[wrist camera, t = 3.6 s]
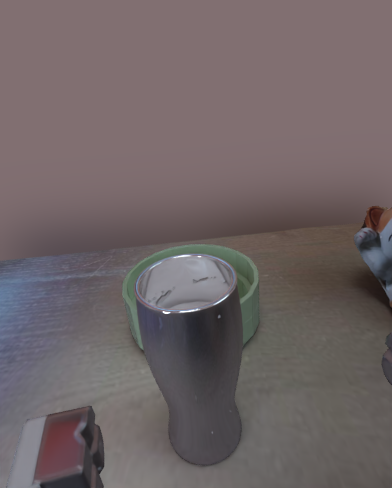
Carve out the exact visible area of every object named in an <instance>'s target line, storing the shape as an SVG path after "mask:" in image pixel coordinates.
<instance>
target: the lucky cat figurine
mask: <svg viewBox="0 0 392 488" xmlns="http://www.w3.org/2000/svg"><path fill="white" fill-rule="evenodd" d="M387 209H388V208H383V207H382V208H381V207H379V206H372V207H369V208H368V210H367V216H366V218H365V221H364V224H363V226H362V228H361V229H360V230H359V231H358V232H357V234H356V235H355V236H354V241H355V245H356V247H357V248H358V250H359V251H360V254H361V256H362V258H363V259H364V261H365V262H366V264H367V265H368V266H369V267H370V270H371V271H372V272H373V273H374V275H375V277H376V278H377V279H378V281H379V282H380V284H381V285H382V287H383V289H384V290H385V292H386V294H387V296H388V297H389V299H390V303H389V304H390V306H391V308H392V208H390V209H389V210H387Z"/></svg>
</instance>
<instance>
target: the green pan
mask: <svg viewBox="0 0 392 488" xmlns="http://www.w3.org/2000/svg"><path fill="white" fill-rule="evenodd" d="M181 254H206V255H212V256H215V257H218V258H221V259H223V260H225V261H226V262H228V263H229V264H230V265H231V266H232V267H233V268H234V269H235V271H236V274H237V284H238V291H239V297H240V304H241V311H242V322H243V345H244V344H245V343H246V342H247V341H248V340H249V339H250V338H251V337H252V336H253V335H254V333H255V331H256V328H257V326H258V323H259V277H258V269H257V267H256V266H255V265H254V263H253V262H252V260H251V259H250V258H248V257H247V256H245V255H244V254H242V253H241V252H239V251H237V250H233V249H230V248H227V247H224V246H218V245H210V244H192V245H183V246H178V247H172V248H169V249H166V250H163V251H160V252H157V253H154V254H152V255H150V256H149V257H147V258H145V259H143V260H142V261H140V262H138V263H137V264H136V265H135V266H134V267H133V268H132V269H131V270H130V271H129V272H128V274H127V275H126V277H125V279H124V281H123V283H122V292H123V299H124V304H125V308H126V312H127V316H128V320H129V324H130V329H131V333H132V336H133V337H134V339H135V341H136V342H137V344H138V346H139V347H140V348H141V349H143V345H142V341H141V335H140V330H139V323H138V316H137V306H136V298H135V294H134V284H135V281H136V279H137V277H138V276H139V274H140V273H141V272H142V271H143V270H144V269H146V268H147V267H148V266H150V265H151V264H153V263H155V262H157V261H159V260H162V259H165V258H168V257H171V256H175V255H181ZM143 350H144V349H143Z"/></svg>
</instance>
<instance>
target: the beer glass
mask: <svg viewBox="0 0 392 488" xmlns="http://www.w3.org/2000/svg"><path fill="white" fill-rule="evenodd" d="M134 294H135V298H136V306H137V316H138V323H139V330H140V335H141V341H142V345H143V349H144V352H145V356H146V360H147V362H148V365H149V367H150V370H151V372H152V375H153V377H154V379H155V381H156V383H157V385H158V387H159V389H160V391H161V393H162V395H163V397H164V399H165V401H166V403H167V406H168V409H169V424H168V433H169V439H170V443H171V445H172V447H173V449H174V450H175V452H176V453H177V454H178V455H179V456H180V457H181V458H182V459H184V460H185V461H187V462H189V463H192V464H196V465H212V464H216V463H219V462H221V461H223V460H224V459H226V458H227V457H229V456H230V455H231V454H232V453H233V452H234V450H235V449H236V447H237V446H238V444H239V441H240V438H241V432H242V424H241V419H240V415H239V412H238V409H237V406H236V403H235V391H236V386H237V381H238V376H239V371H240V365H241V359H242V350H243V322H242V311H241V304H240V297H239V291H238V284H237V274H236V271H235V269H234V268H233V267H232V266H231V265H230V264H229V263H228V262H226V261H225V260H223V259H221V258H218V257H215V256H212V255H206V254H181V255H175V256H171V257H168V258H165V259H162V260H159V261H157V262H155V263H153V264H151V265H150V266H148V267H147V268H146V269H144V270H143V271H142V272H141V273H140V274H139V276H138V277H137V279H136V281H135V284H134Z"/></svg>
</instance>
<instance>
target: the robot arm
mask: <svg viewBox="0 0 392 488" xmlns="http://www.w3.org/2000/svg"><path fill="white" fill-rule="evenodd" d="M385 344H386V345H387V347H388V348H389V349H388V350H387V351H386V352H385V353H384V354H383V357H382V364H381V365H382V368H383V372H384V375H385V377H386V378H387V380H388V382H389V383H390V384H391V385H392V332H391V333H390V334H389V335H388V336H387V337H386V342H385ZM103 468H104V443H103V437H102V433H101V430H100V427H99V426H98V425H96V424H95V413H94V411H93V408H92V406H87V407H82V408H77V409H73V410H68V411H63V412H59V413H54V414H49V415H46V416H41V417H37V418H32V419H28V420H26V422H25V424H24V425H23V427H22V430H21V434H20V438H19V441H18V445H17V449H16V453H15V456H14V460H13V464H12V468H11V471H10V475H9V479H8V483H7V486H6V488H104V485H103V483H102V480H101V478H100V475H99V474H100V473H101V471H102V469H103Z"/></svg>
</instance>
